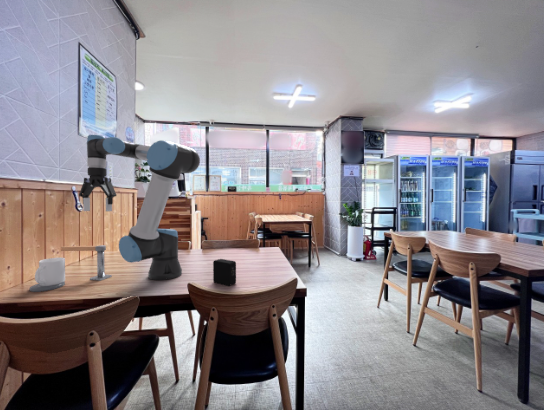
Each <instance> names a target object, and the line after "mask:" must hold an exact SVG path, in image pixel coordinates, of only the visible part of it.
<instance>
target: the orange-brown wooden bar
mask: <svg viewBox="0 0 544 410" xmlns="http://www.w3.org/2000/svg"><path fill="white" fill-rule="evenodd" d="M106 246H107V245H69V246H68V245H65V246H64V245H63V246H61V247H60V252H92V251H93V252H94V251H95V252H97V251H104V252H105V251H106V250H107V249H106V248H107V247H106Z"/></svg>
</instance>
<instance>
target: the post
mask: <svg viewBox="0 0 544 410" xmlns="http://www.w3.org/2000/svg"><path fill="white" fill-rule="evenodd" d="M96 262H97V269H96V271H97V275H95V276H91V277H90V278H89V280H90V281H91V280H92V281H103V280H106V279H109V278H111V277H113V275H112V274H105V271H106V270H105V250H104V251H96Z"/></svg>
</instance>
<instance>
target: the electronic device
mask: <svg viewBox="0 0 544 410" xmlns="http://www.w3.org/2000/svg"><path fill="white" fill-rule="evenodd" d="M212 265H213V267H212V271H213V272H212V273H213V276H212V279H213V280H212V281H213V283H215V284H218V285H222V286H227V287H230V286H232V285H235V284H236V283H237V263H236V261H234V260H230V259H225V258H224V259H223V258H218V259H215V260H213V261H212Z"/></svg>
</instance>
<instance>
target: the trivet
mask: <svg viewBox="0 0 544 410" xmlns="http://www.w3.org/2000/svg"><path fill="white" fill-rule="evenodd" d="M65 284H66V280H65V281H64V282H63V283H61V284H58V285H53V286H41V285H40V284H39V283H36V284H32V286H30V287H29V292H32V293H40V292H41V291H42V292H48V290H49V291H52V290H57V289H60V288H62V287H64V286H65Z"/></svg>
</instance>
